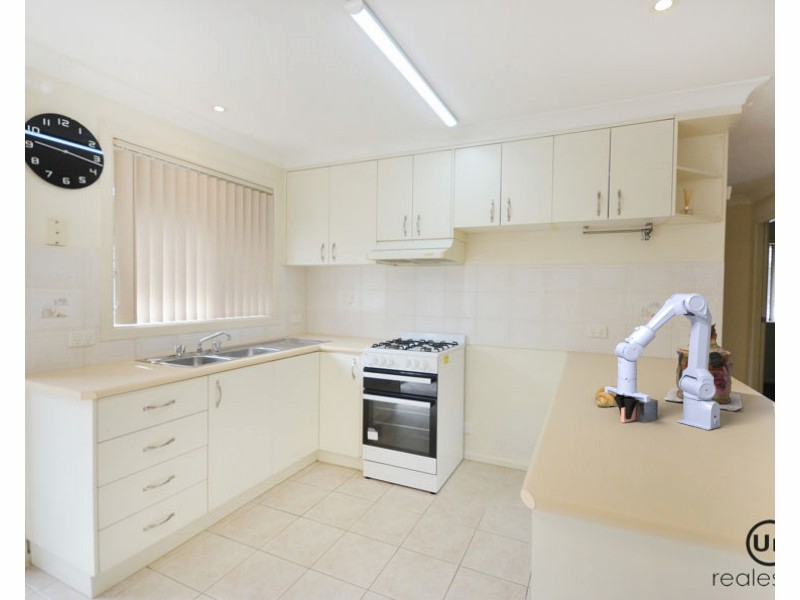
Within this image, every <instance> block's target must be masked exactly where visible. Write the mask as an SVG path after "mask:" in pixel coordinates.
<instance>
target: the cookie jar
mask: <svg viewBox="0 0 800 600" xmlns="http://www.w3.org/2000/svg"><path fill="white" fill-rule="evenodd" d="M716 325H717V323H713V324H711V336H710V350H709V363H708V371H709V372H710V373H711V375H712V376H713V377H714V385H715V387H716V393H715V395H714V396H713V397H712V398H711V400H712V401H715V402H717V403H719V406H720V410H727V411H731V412H733V411H737V410H741V409H742V408H743V403H742V399H741V397H742V394H731V392H732V383H733V382H732V374H733V372H734V370H733V367H734V364H733V362H732V361H729V358H731V356H732V352H730V351H729V350H725V349H723V348H722V346H720V345H718V343H717V339H718V333H717V332H716V330H717V329H716V328H715V327H716ZM688 336H689V337H690V334H689V335H688ZM676 353H677V354H678V358H677V359H678V361H677V362H678V363H677V367H676V372H675V373H676V377H675V379H676V380H675V384H676V386H677V387H672V386H671V387H669V390H668V392H667V393H666V396H665V397H664V401H671V402H680V403H681V402H682V403H683V396H684V395H683V391H682V390H681V389H680V387H679V381H680V379H681V377H682V374H683V371H684V370H685V369H686V368H687V367H688V357H689V344H688V345H684V346H681V347H680V348H677V349H676Z"/></svg>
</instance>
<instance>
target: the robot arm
mask: <svg viewBox="0 0 800 600" xmlns="http://www.w3.org/2000/svg"><path fill="white" fill-rule="evenodd" d="M681 315H683V316H684V317H685V318H686V319H687V320H689V321H690V331H689V335H690V336H689V344H688V345H689V357H688V367H687V368H686V369H685V370H684V371H683V374H682V377H681V379H680V381H679V387H680V389H681V390H682V391H683V395H684V396H683V402H682V403H683V404H682V406H683V407H682V408H683V410H682V418H681V419H678V420H677V421H676V422H677V423H681V424H684V425H688V426H691V427H696V428H698V429H703V430H706V431H711V430H713V429H718V428H720V427H721V423H720V420H721V417H720V416H721V414H720V413H721V409H720V406H719V403H717V402H715V401H712V400H711V398H712V397H713V396H714V395H715V393H716V387H715V385H714V377H713V376H712V375H711V373H710V372H709V371H708V363H709V350H710V336H711V325H712V320H713V319H712V318H713V317H712V313H711V311H710V309H709V300H708V299H707V298H706V297H704V296H703V295H702V294H701V293H681V292H677V293H674V294H672V295H671V296H670V297H669V298H668V299H667V300H665V302H664V304H663V306H662V307H661V308H660V309H659V310H658V311H657V313H656V314H655V315H654V316H653V317H652V318H651V319H650V320H649V321H648V322H647V324H646V325H639V327H638V326H636V327H635V328H634V331H633V332H632V333H631V334H630V335H629V336H628V337H625V339H624V341H622V342H619V343H618V344H617V345H616V347H615V349H613V350H614V354H615V356H616V357H617V375H616V376H617V380H616V381H617V382H616V386H613V387H610V386H611V385H610V386H609V385H607V386H604V387H605V392H606V393H613V394H616V396H614V399H615V401H616V403H617V405H618V406H617V408H618V410H619V411H618V412H619V414H620V416H621V408H623V407H625V417H626V419H631V417H632V414H633V411H634V409H635V407H636V405H637V403H638V402H639V400H642V401H644V402H650V398H651V395H648V394H645V393H643V392H639V391H637V387H638V384H637V382H638V381H637V380H638V378H637V377H638V376H637V375H638V359H640V358H641V357H642V353H643V350H644V349H645V348H647V346H648V345H649V344H650V343H651V342H652V341H653V340H655V338H656V332H657V331H658V330H659V329H660V328H662V327H663V326H664V325H665V324H667V322H669V321H670V320H671V319H672V318H673V317H676V316H681ZM615 387H617V388H615Z"/></svg>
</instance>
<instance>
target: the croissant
mask: <svg viewBox="0 0 800 600" xmlns="http://www.w3.org/2000/svg"><path fill="white" fill-rule="evenodd" d="M605 387H606V386H603V387H600V388H599V389H598V390H596V391H595V400H596V405H597V406H599V407H601V408H605V407H606V408H608V407H609V408H610V406H614V407H618V406H617V403H616V401H615V399H614V396H616V394H613V393H606V392H605ZM610 387H615V388H617V386H613V385H610Z"/></svg>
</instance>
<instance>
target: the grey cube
mask: <svg viewBox="0 0 800 600" xmlns="http://www.w3.org/2000/svg"><path fill="white" fill-rule="evenodd" d="M658 403H659V400H658V399H654V398H651V397H650V402H644V401H642V400H639V402H638V403H637V420H636V422H638V421H640V422H639V423H642V422H643V423H642V424H646V423H649V422H648V421H650V422H653V421H652V420H654V421H657V420H658V407H659V404H658ZM656 419H657V420H656ZM645 422H646V423H645Z"/></svg>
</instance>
